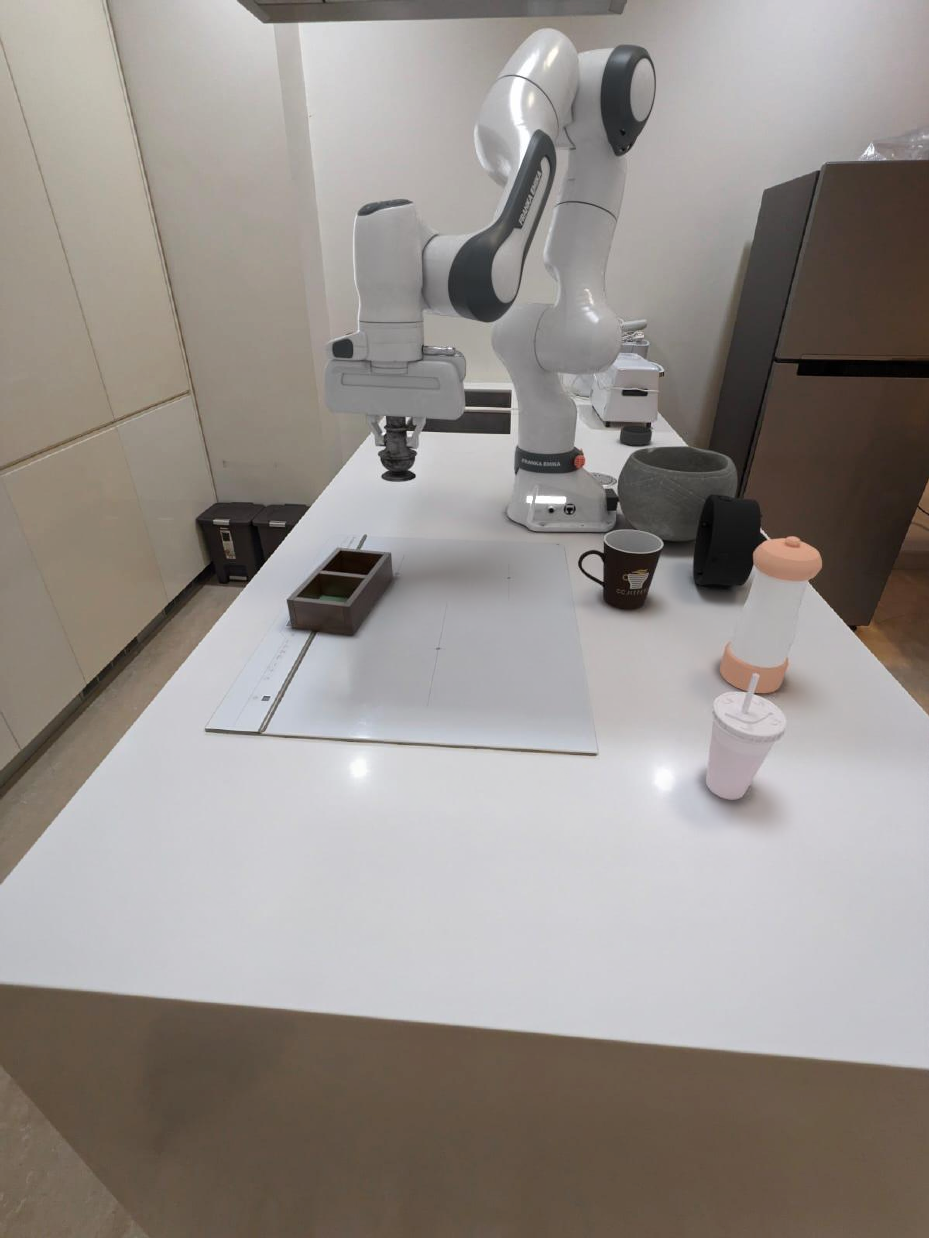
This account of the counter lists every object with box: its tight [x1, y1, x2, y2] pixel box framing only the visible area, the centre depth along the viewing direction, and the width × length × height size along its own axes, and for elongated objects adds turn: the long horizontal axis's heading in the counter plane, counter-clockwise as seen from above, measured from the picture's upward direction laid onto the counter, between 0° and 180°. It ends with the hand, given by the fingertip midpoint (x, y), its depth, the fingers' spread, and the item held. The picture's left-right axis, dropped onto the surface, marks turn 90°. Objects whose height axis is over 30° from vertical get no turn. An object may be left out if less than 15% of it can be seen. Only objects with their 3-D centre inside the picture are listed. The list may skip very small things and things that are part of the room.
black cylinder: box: [692, 494, 768, 589], centre depth 92 cm, size 14×14×10 cm
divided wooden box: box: [286, 546, 394, 637], centre depth 89 cm, size 10×18×5 cm, turn 168°
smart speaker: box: [619, 425, 653, 447], centre depth 169 cm, size 9×9×4 cm
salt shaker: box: [377, 416, 418, 483], centre depth 85 cm, size 6×6×12 cm
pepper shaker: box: [719, 535, 823, 694], centre depth 69 cm, size 7×7×19 cm
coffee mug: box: [577, 529, 665, 611], centre depth 89 cm, size 12×9×10 cm
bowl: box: [616, 445, 738, 542], centre depth 109 cm, size 21×21×15 cm
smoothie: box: [705, 673, 788, 801], centre depth 55 cm, size 6×6×14 cm
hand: (397, 446), depth 86 cm, fingers closed on salt shaker, 3 cm apart
